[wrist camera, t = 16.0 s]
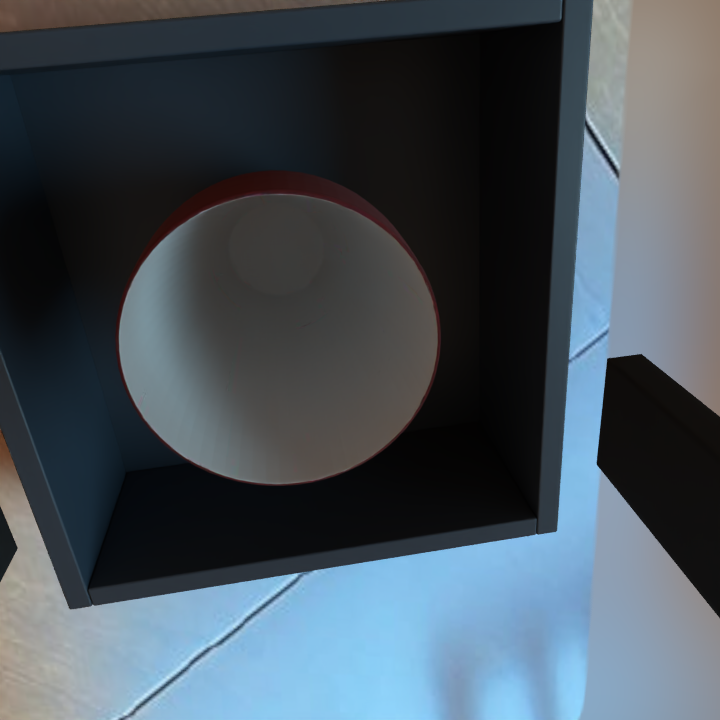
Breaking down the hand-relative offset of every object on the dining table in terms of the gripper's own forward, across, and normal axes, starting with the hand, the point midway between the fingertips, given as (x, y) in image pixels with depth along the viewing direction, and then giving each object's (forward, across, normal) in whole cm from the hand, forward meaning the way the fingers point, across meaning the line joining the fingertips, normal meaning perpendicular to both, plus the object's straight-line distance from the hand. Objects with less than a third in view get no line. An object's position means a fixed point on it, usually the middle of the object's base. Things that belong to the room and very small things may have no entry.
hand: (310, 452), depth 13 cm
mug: (+13, 0, 0) cm, 13 cm away
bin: (+14, 0, 0) cm, 14 cm away
